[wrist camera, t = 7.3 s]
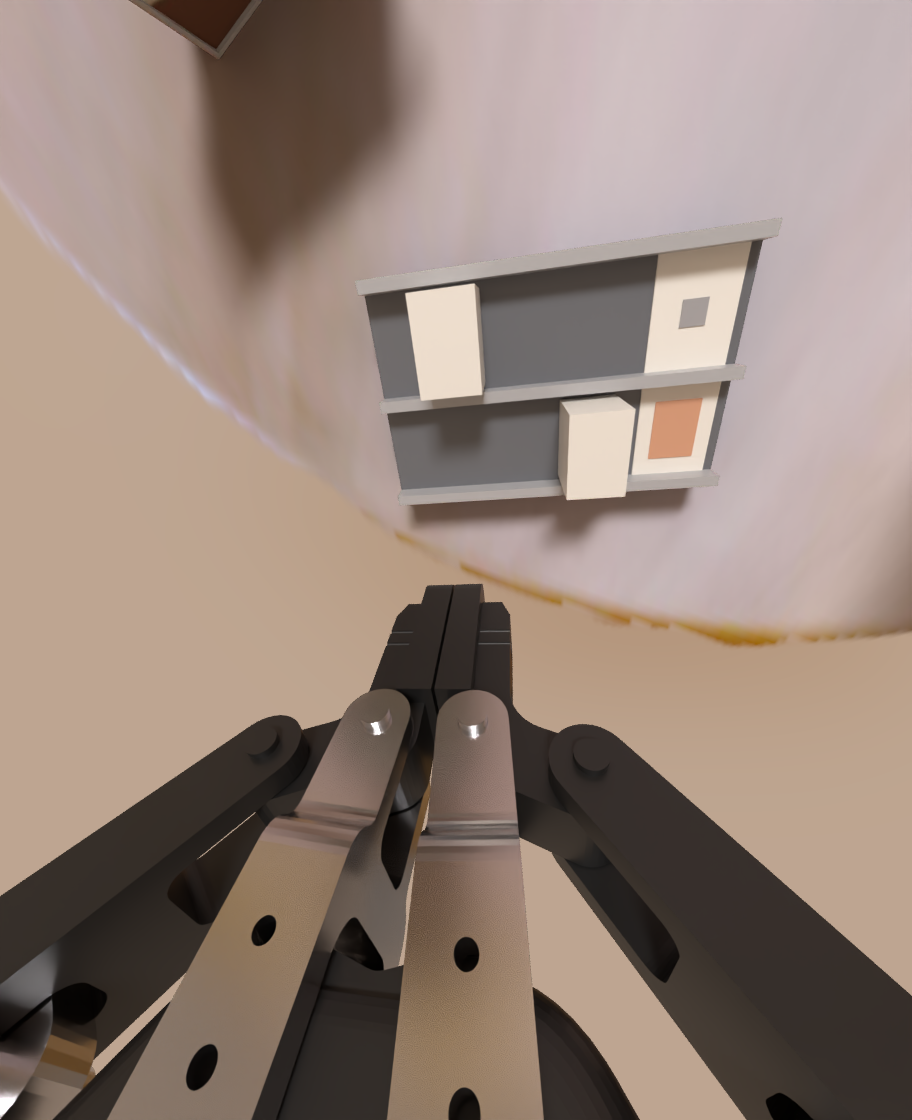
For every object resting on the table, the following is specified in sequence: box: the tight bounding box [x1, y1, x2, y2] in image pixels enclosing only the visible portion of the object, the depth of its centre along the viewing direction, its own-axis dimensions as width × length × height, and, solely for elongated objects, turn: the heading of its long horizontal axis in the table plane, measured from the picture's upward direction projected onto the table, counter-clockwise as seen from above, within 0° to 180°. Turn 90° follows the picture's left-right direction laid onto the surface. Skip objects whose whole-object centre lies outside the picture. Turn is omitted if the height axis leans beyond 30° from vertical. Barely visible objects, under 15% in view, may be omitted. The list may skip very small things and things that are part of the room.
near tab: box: [405, 284, 485, 401], centre depth 20 cm, size 3×4×4 cm
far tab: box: [558, 394, 636, 500], centre depth 22 cm, size 3×4×4 cm
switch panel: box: [355, 218, 782, 505], centre depth 23 cm, size 19×12×3 cm, turn 96°
